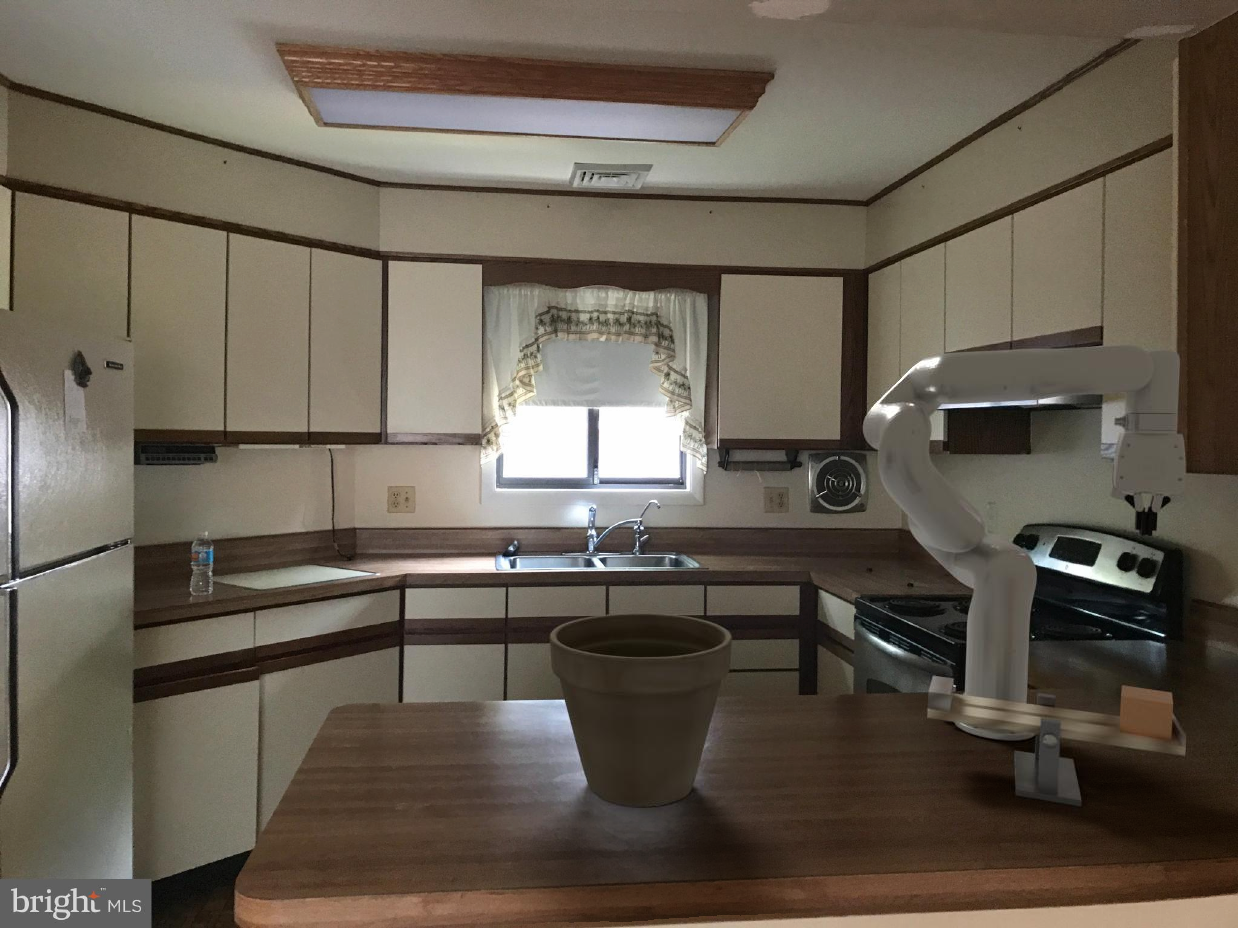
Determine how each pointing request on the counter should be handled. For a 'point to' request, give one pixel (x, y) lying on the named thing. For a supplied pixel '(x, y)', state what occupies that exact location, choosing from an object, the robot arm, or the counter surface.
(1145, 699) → the block
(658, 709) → the plant pot
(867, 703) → the counter surface
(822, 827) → the counter surface
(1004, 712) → the beam
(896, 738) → the counter surface
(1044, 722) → the pivot stand
